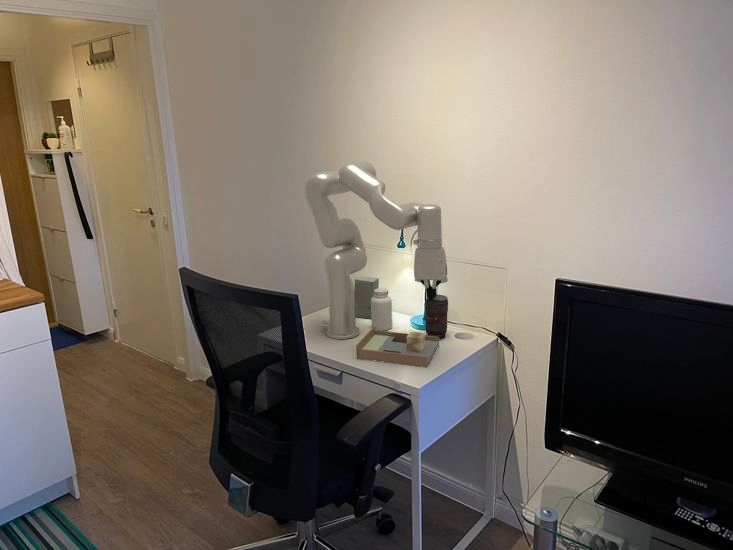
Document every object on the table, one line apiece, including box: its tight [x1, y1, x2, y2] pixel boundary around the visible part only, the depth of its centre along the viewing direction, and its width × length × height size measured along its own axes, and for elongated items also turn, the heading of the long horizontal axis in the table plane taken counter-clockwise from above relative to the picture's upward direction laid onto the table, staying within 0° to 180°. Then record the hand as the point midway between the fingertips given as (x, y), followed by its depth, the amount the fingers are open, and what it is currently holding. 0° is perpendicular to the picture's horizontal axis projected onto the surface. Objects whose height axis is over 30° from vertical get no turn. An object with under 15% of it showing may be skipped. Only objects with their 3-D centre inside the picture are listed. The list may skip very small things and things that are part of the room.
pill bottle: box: [370, 287, 393, 331], centre depth 214 cm, size 8×8×15 cm
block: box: [407, 331, 426, 352], centre depth 189 cm, size 5×5×5 cm
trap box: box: [355, 326, 440, 368], centre depth 192 cm, size 24×18×5 cm
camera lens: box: [424, 294, 449, 340], centre depth 204 cm, size 8×8×15 cm
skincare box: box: [354, 275, 380, 320], centre depth 227 cm, size 8×7×16 cm
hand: (431, 299), depth 183 cm, fingers closed
